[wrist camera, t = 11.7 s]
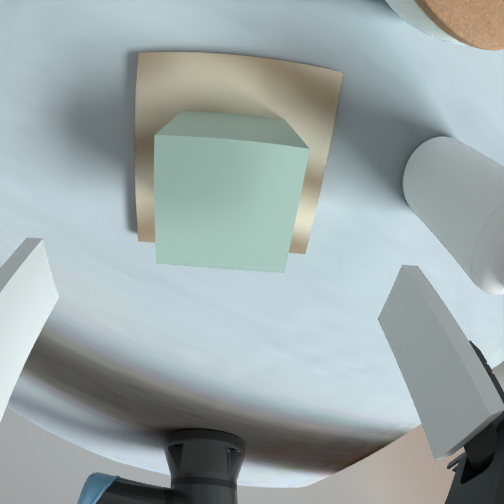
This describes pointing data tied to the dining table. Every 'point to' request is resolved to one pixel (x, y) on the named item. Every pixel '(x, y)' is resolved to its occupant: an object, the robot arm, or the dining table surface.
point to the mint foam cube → (227, 190)
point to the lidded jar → (456, 20)
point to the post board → (236, 102)
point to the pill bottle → (461, 206)
